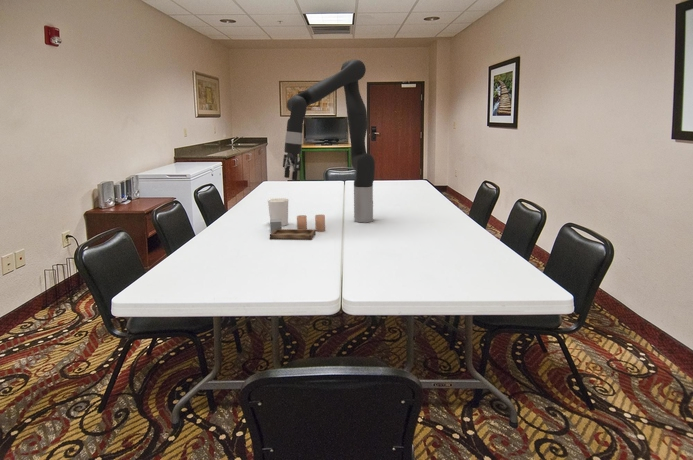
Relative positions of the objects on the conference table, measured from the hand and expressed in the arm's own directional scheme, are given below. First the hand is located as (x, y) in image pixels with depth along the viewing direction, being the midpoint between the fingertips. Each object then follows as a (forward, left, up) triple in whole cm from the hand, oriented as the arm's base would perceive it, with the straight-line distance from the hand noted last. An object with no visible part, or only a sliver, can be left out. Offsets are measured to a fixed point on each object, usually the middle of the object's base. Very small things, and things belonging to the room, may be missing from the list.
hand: (290, 178), depth 214 cm
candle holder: (+9, -9, -24) cm, 27 cm away
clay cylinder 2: (-13, +2, -23) cm, 27 cm away
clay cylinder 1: (-5, +4, -23) cm, 24 cm away
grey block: (+7, +5, -23) cm, 25 cm away
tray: (-3, +14, -23) cm, 27 cm away
